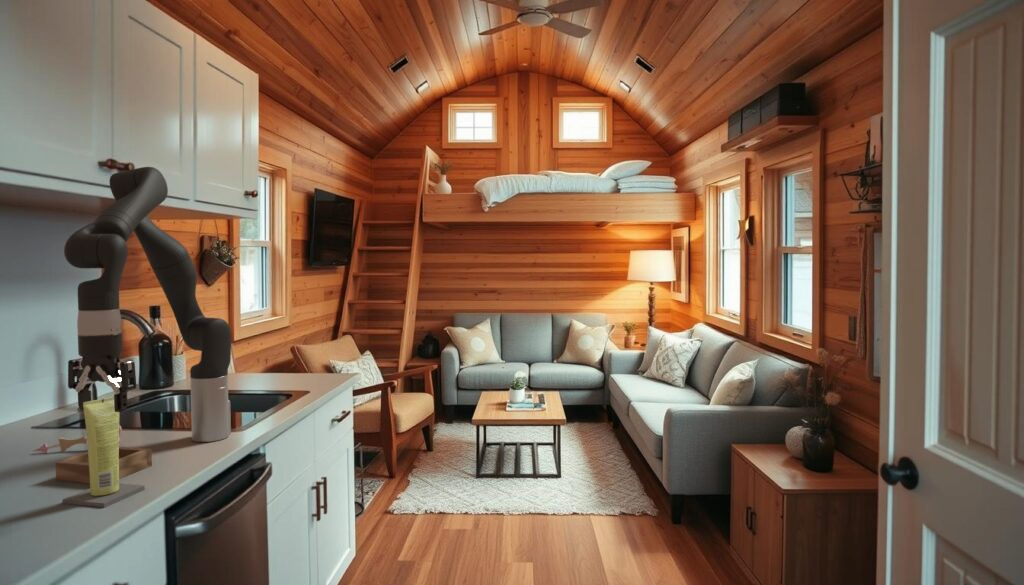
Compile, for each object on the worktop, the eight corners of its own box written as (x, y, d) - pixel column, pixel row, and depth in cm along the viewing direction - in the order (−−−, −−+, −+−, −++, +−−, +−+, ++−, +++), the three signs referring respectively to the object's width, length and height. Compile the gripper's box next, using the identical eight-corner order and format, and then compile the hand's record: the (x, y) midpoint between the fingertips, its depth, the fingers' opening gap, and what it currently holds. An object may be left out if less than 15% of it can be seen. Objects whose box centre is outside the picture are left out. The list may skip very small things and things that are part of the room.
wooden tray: (106, 461, 149) (105, 445, 149) (151, 465, 146) (151, 449, 146) (55, 480, 136) (55, 462, 136) (105, 484, 133) (104, 466, 133)
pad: (105, 485, 133) (105, 482, 133) (144, 489, 131) (144, 485, 131) (62, 503, 123) (62, 499, 123) (104, 507, 121) (104, 503, 121)
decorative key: (37, 464, 156) (125, 444, 162) (35, 465, 155) (123, 445, 161) (31, 438, 156) (119, 419, 161) (28, 439, 155) (118, 421, 160)
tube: (96, 488, 129) (92, 396, 128) (123, 485, 130) (120, 394, 130) (86, 498, 124) (82, 402, 123) (115, 495, 125) (111, 400, 124)
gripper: (54, 333, 123) (57, 413, 124) (114, 334, 120) (117, 416, 121) (87, 329, 130) (90, 404, 131) (144, 330, 127) (147, 407, 128)
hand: (103, 410), depth 126 cm, fingers open, 8 cm apart
